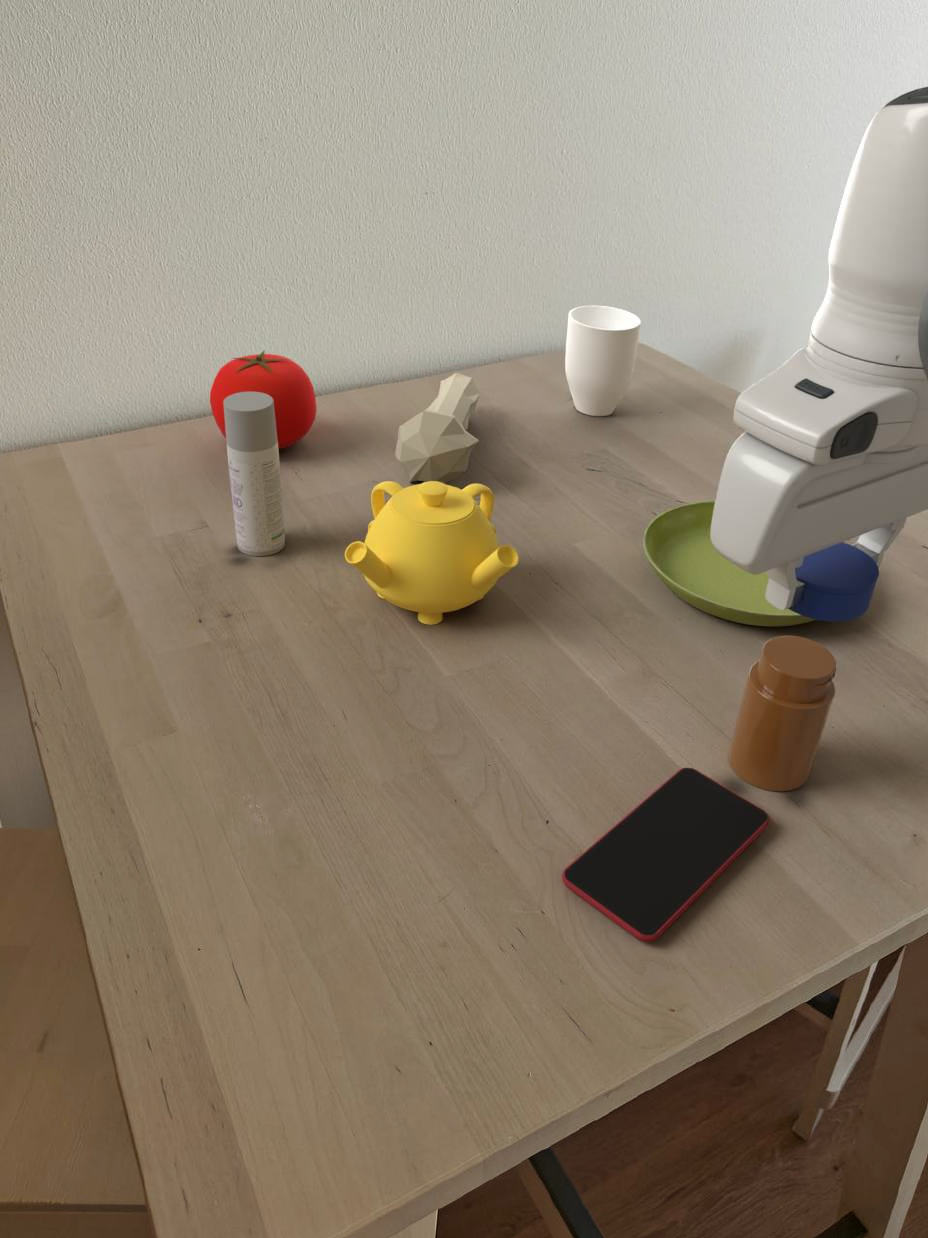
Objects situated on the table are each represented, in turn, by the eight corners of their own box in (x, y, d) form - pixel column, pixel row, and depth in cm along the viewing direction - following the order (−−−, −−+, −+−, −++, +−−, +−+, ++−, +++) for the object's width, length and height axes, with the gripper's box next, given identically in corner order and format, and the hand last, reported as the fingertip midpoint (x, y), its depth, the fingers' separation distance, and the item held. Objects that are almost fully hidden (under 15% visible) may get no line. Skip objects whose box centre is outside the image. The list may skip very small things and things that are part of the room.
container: (227, 549, 98) (211, 404, 90) (255, 527, 102) (241, 387, 93) (267, 561, 97) (255, 415, 88) (294, 539, 100) (284, 397, 92)
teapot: (346, 639, 87) (343, 526, 81) (356, 556, 98) (354, 451, 92) (512, 643, 88) (522, 532, 81) (504, 560, 99) (512, 456, 92)
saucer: (767, 673, 86) (775, 642, 84) (594, 567, 98) (598, 538, 96) (900, 593, 97) (910, 565, 95) (728, 507, 109) (734, 481, 108)
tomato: (288, 415, 125) (283, 332, 119) (335, 450, 117) (332, 364, 111) (197, 436, 119) (187, 350, 113) (240, 475, 111) (232, 385, 105)
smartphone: (556, 875, 65) (686, 763, 74) (555, 884, 66) (684, 771, 75) (649, 942, 61) (775, 815, 70) (647, 952, 62) (772, 824, 71)
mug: (620, 427, 125) (633, 332, 119) (551, 415, 128) (560, 321, 121) (638, 393, 135) (651, 304, 128) (574, 383, 137) (583, 294, 130)
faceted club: (378, 484, 109) (421, 403, 129) (452, 512, 109) (483, 427, 130) (401, 411, 104) (442, 339, 125) (478, 440, 104) (506, 364, 125)
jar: (825, 769, 76) (861, 662, 70) (775, 803, 73) (808, 694, 67) (761, 726, 80) (790, 621, 74) (711, 757, 77) (737, 650, 71)
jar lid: (748, 586, 68) (756, 555, 66) (807, 557, 71) (815, 526, 70) (830, 633, 64) (840, 601, 62) (888, 600, 67) (899, 568, 66)
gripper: (939, 343, 66) (882, 527, 74) (714, 402, 57) (676, 607, 65) (1028, 375, 62) (958, 567, 70) (801, 445, 52) (749, 658, 60)
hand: (821, 587), depth 67 cm, fingers closed on jar lid, 6 cm apart
